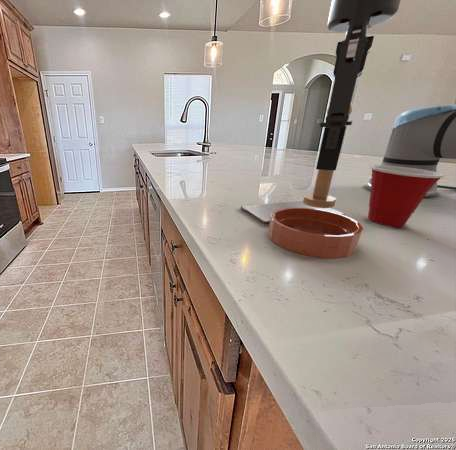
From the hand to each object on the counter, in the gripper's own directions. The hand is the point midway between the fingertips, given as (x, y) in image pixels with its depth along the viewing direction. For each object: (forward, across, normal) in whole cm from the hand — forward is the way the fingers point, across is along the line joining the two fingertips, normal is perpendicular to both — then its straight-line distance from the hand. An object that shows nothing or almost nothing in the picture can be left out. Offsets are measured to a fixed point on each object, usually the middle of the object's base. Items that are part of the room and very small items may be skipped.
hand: (326, 167), depth 41 cm
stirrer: (+6, 0, 0) cm, 6 cm away
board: (+14, -14, -6) cm, 21 cm away
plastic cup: (+14, -18, +12) cm, 26 cm away
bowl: (+14, 0, 0) cm, 14 cm away
